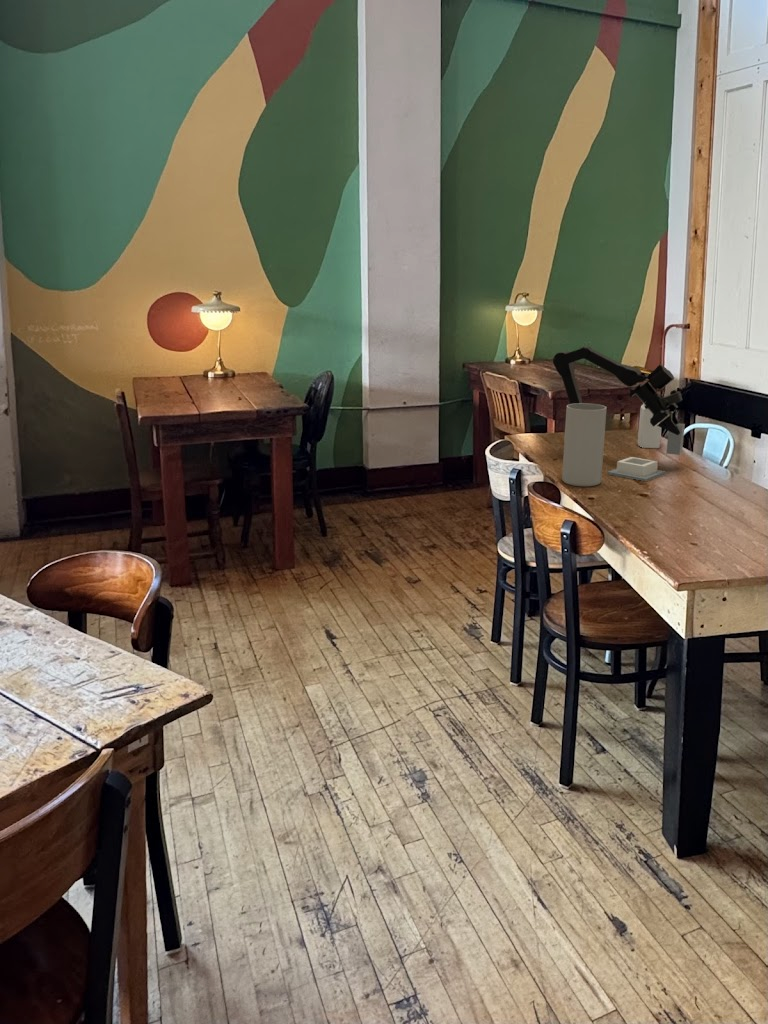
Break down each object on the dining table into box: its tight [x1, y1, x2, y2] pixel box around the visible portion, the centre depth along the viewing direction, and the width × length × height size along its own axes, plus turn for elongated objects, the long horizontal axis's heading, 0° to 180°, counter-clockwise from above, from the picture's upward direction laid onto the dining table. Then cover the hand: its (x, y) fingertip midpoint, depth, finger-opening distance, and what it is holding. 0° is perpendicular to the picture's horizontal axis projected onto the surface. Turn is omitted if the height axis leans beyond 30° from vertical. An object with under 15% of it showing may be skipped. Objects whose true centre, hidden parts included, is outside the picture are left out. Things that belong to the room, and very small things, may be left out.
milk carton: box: [636, 402, 662, 449], centre depth 338 cm, size 7×7×19 cm
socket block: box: [607, 456, 666, 482], centre depth 299 cm, size 14×14×4 cm
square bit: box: [665, 422, 686, 456], centre depth 304 cm, size 4×4×10 cm
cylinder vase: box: [561, 402, 608, 488], centre depth 286 cm, size 12×12×25 cm
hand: (680, 433), depth 302 cm, fingers closed on square bit, 4 cm apart
